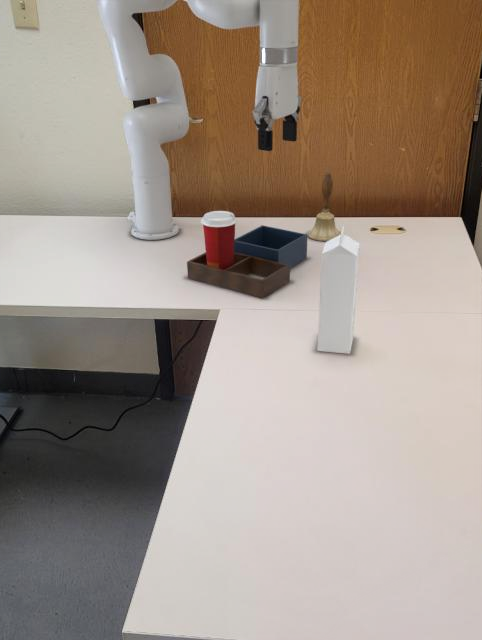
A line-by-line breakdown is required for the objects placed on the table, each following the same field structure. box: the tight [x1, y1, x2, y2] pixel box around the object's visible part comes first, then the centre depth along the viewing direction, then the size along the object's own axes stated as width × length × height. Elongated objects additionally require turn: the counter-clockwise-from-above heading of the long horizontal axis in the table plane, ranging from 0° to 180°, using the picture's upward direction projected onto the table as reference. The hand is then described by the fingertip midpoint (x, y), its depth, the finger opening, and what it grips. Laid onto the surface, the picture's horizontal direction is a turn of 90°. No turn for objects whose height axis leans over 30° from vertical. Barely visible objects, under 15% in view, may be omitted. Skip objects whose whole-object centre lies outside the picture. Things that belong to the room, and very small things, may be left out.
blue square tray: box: [234, 224, 309, 270], centre depth 169 cm, size 13×13×6 cm
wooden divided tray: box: [186, 251, 291, 299], centre depth 160 cm, size 20×11×4 cm, turn 54°
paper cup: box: [200, 210, 237, 270], centre depth 160 cm, size 8×8×14 cm
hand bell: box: [307, 172, 341, 242], centre depth 180 cm, size 8×8×16 cm
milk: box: [316, 225, 361, 355], centre depth 128 cm, size 6×6×22 cm
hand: (277, 145), depth 152 cm, fingers open, 9 cm apart
